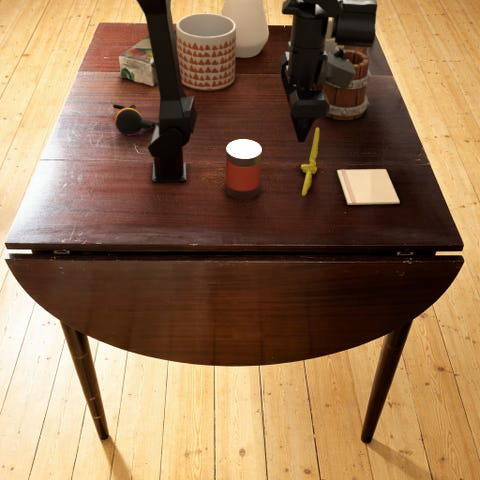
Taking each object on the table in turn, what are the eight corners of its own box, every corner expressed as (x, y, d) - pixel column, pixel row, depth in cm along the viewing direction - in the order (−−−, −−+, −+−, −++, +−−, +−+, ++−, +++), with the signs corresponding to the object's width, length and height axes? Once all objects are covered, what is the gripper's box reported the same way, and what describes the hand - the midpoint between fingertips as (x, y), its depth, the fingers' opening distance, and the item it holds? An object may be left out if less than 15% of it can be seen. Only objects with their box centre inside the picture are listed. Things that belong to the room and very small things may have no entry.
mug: (304, 112, 138) (317, 42, 129) (329, 97, 148) (343, 32, 139) (351, 127, 134) (368, 56, 125) (374, 111, 144) (391, 44, 135)
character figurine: (109, 124, 136) (114, 135, 126) (113, 98, 134) (118, 107, 124) (154, 133, 140) (163, 144, 129) (159, 108, 137) (168, 117, 127)
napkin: (399, 203, 116) (399, 201, 116) (347, 204, 115) (348, 202, 115) (385, 170, 123) (386, 168, 123) (336, 171, 123) (337, 169, 122)
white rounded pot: (226, 35, 166) (227, -20, 155) (274, 43, 163) (277, -13, 153) (209, 56, 157) (209, -2, 147) (259, 64, 154) (262, 6, 144)
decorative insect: (309, 207, 123) (307, 195, 113) (293, 204, 123) (290, 192, 113) (323, 144, 123) (322, 127, 113) (307, 141, 123) (304, 124, 114)
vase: (171, 87, 145) (167, 32, 135) (188, 62, 154) (186, 9, 145) (226, 95, 143) (227, 40, 133) (240, 70, 152) (242, 16, 143)
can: (260, 199, 116) (263, 158, 109) (226, 200, 115) (227, 159, 108) (257, 179, 120) (260, 138, 113) (224, 180, 119) (225, 139, 113)
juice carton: (152, 89, 144) (150, 63, 139) (117, 80, 146) (113, 54, 142) (192, 57, 156) (192, 32, 152) (159, 49, 159) (157, 25, 155)
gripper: (368, 68, 94) (351, 156, 105) (345, 19, 107) (332, 103, 118) (296, 67, 93) (287, 156, 105) (282, 18, 106) (275, 102, 117)
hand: (297, 128), depth 111 cm, fingers open, 9 cm apart
